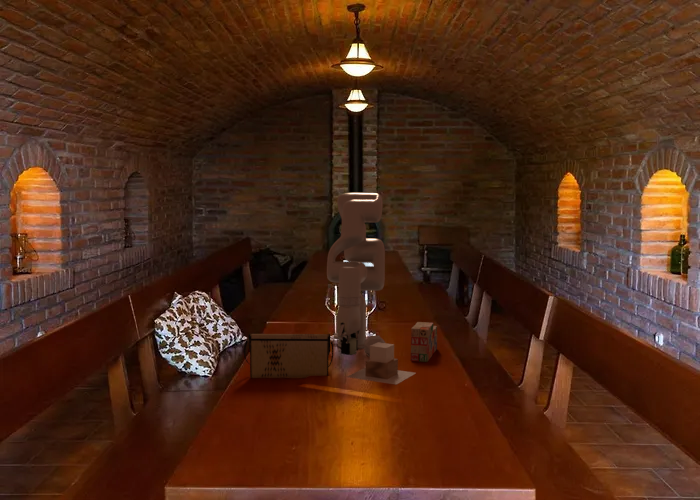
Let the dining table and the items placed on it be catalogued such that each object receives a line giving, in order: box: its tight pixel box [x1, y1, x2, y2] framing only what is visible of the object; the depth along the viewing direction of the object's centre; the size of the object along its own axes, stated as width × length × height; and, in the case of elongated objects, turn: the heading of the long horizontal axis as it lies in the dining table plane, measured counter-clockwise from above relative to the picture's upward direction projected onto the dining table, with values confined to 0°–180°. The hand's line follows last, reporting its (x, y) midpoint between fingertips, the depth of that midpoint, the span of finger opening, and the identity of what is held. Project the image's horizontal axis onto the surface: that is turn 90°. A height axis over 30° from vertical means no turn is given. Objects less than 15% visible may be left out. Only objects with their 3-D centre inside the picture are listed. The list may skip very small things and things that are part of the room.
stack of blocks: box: [410, 321, 438, 363], centre depth 277 cm, size 21×6×12 cm, turn 164°
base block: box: [365, 357, 399, 379], centre depth 244 cm, size 8×8×5 cm
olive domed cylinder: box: [343, 337, 357, 356], centre depth 258 cm, size 5×5×5 cm
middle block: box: [369, 342, 395, 363], centre depth 244 cm, size 6×6×5 cm
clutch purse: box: [243, 333, 335, 379], centre depth 245 cm, size 30×7×15 cm, turn 92°
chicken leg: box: [363, 335, 386, 358], centre depth 268 cm, size 8×18×8 cm, turn 3°
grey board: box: [346, 366, 417, 385], centre depth 244 cm, size 18×16×1 cm
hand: (349, 351), depth 259 cm, fingers closed on olive domed cylinder, 4 cm apart
